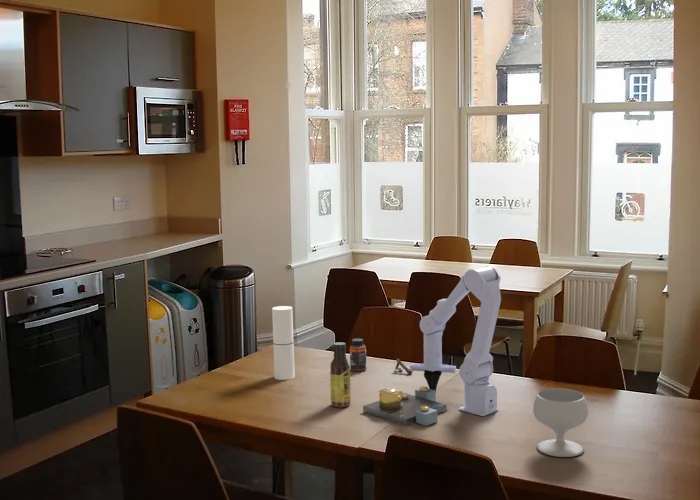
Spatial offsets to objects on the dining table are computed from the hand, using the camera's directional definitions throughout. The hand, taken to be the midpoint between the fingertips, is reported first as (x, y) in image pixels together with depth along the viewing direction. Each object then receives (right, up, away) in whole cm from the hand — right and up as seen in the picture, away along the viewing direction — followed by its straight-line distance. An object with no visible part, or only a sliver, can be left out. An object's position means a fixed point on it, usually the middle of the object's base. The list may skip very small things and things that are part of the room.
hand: (433, 393), depth 258 cm
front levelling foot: (-3, -2, -2) cm, 4 cm away
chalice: (+29, -7, -45) cm, 54 cm away
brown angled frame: (-8, +2, +30) cm, 31 cm away
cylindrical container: (-50, +1, +28) cm, 58 cm away
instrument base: (-10, -3, -12) cm, 16 cm away
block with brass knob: (-4, -4, -22) cm, 23 cm away
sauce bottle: (-30, -3, -4) cm, 30 cm away
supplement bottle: (-24, +2, +35) cm, 43 cm away
